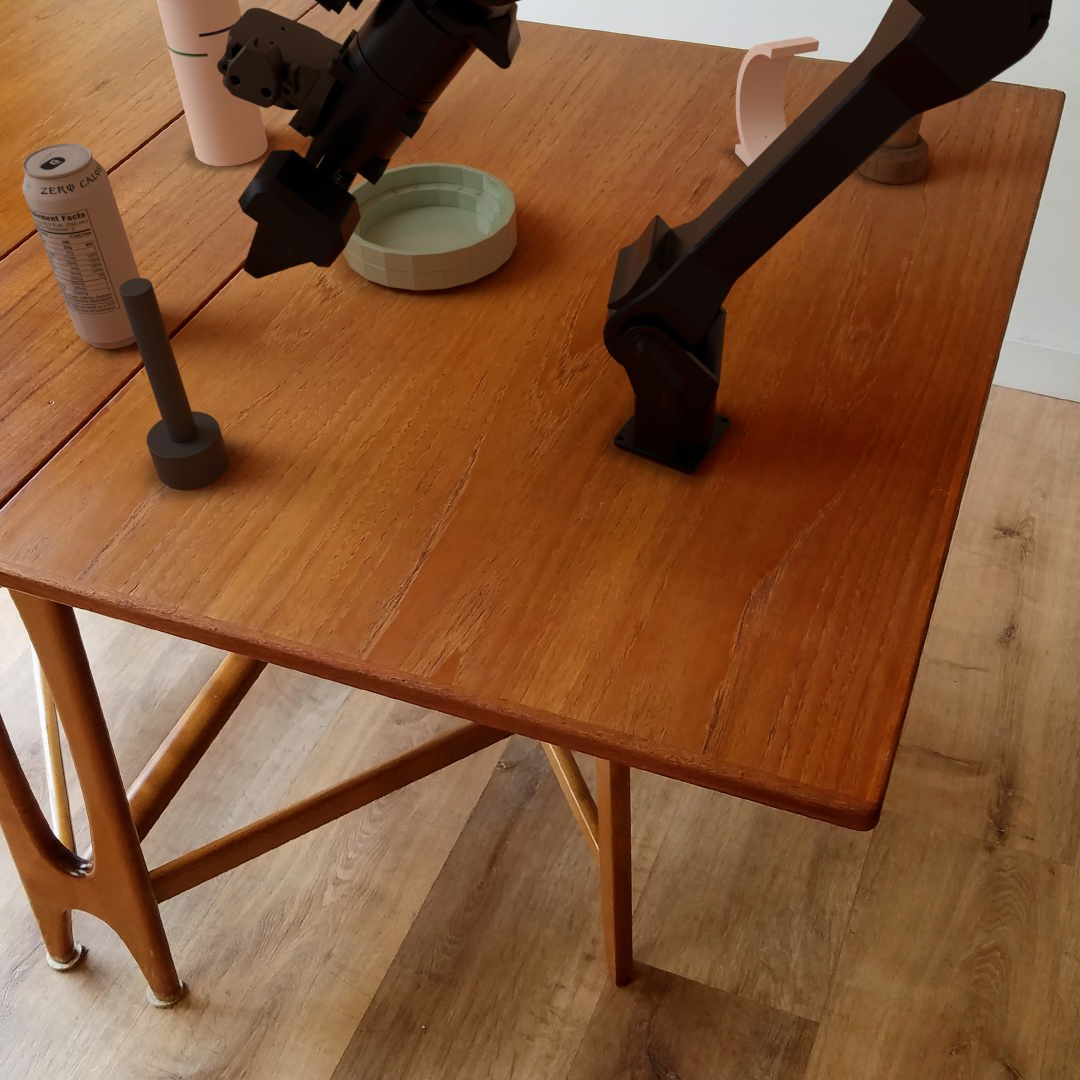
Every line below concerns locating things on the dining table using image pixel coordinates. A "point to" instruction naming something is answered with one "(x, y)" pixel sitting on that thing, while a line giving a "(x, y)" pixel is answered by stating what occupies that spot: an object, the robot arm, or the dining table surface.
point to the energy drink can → (82, 239)
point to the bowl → (432, 226)
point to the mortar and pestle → (899, 156)
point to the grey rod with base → (172, 401)
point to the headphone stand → (764, 93)
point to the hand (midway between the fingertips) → (273, 234)
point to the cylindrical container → (210, 82)
